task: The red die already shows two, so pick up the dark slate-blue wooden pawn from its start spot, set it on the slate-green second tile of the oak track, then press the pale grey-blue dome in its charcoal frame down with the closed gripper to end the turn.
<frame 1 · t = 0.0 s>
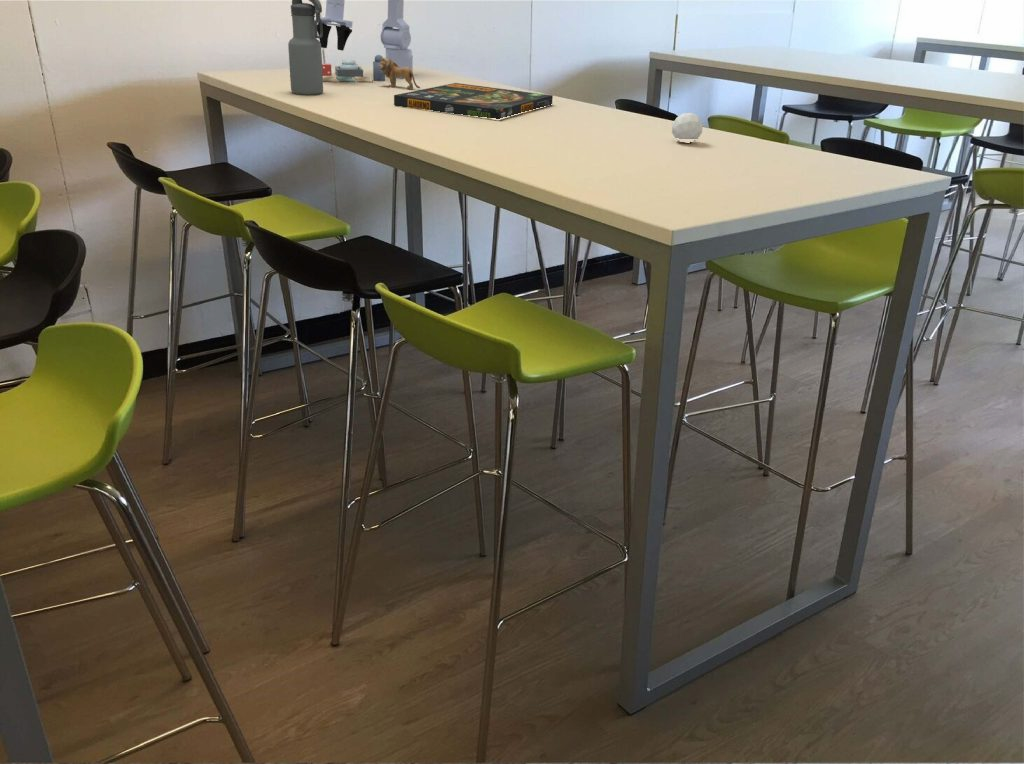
hand: (332, 49, 291), 11 cm above the table, tool pointing down, fingers open, 7 cm apart
track: (345, 79, 302), on the table
red die: (326, 74, 311), on the table
board game box: (475, 108, 268), on the table
dome: (348, 66, 311), point 3 cm above the table, slide at 0.0 cm
lion figurine: (398, 88, 292), on the table
water bottle: (308, 93, 274), on the table
geometric ball: (685, 143, 231), on the table
pawn: (379, 80, 305), on the table
dome frame: (349, 75, 313), on the table
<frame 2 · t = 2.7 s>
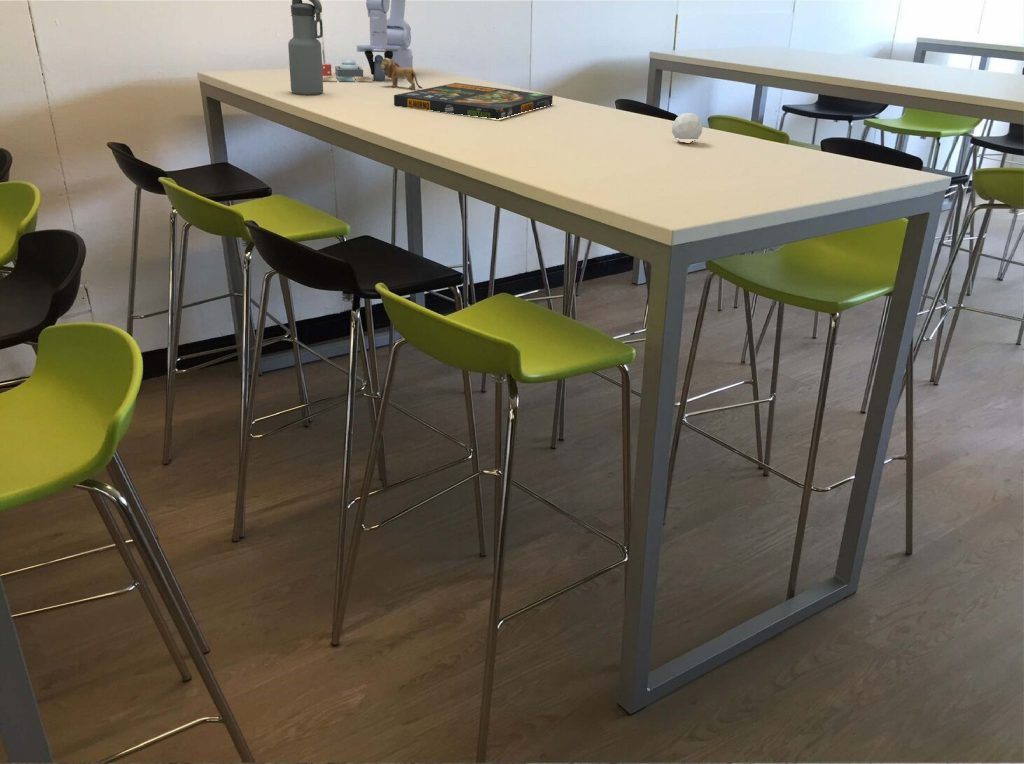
hand: (379, 74, 304), 2 cm above the table, tool pointing down, fingers closed on pawn, 4 cm apart
pawn: (379, 80, 305), on the table, touching gripper
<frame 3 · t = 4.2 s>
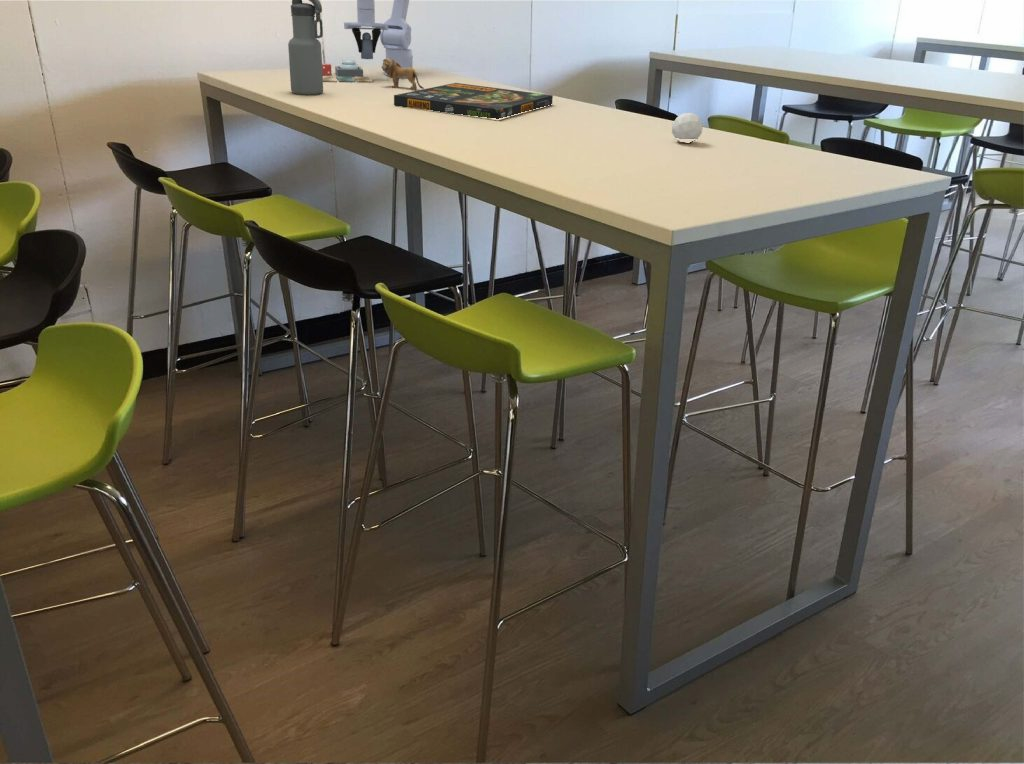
hand: (366, 52, 300), 9 cm above the table, tool pointing down, fingers closed on pawn, 4 cm apart
pawn: (367, 58, 301), point 7 cm above the table, touching gripper
when the fingers open (3 cm above the table, at t = 6.1 s): pawn stays where it is, resting on track.
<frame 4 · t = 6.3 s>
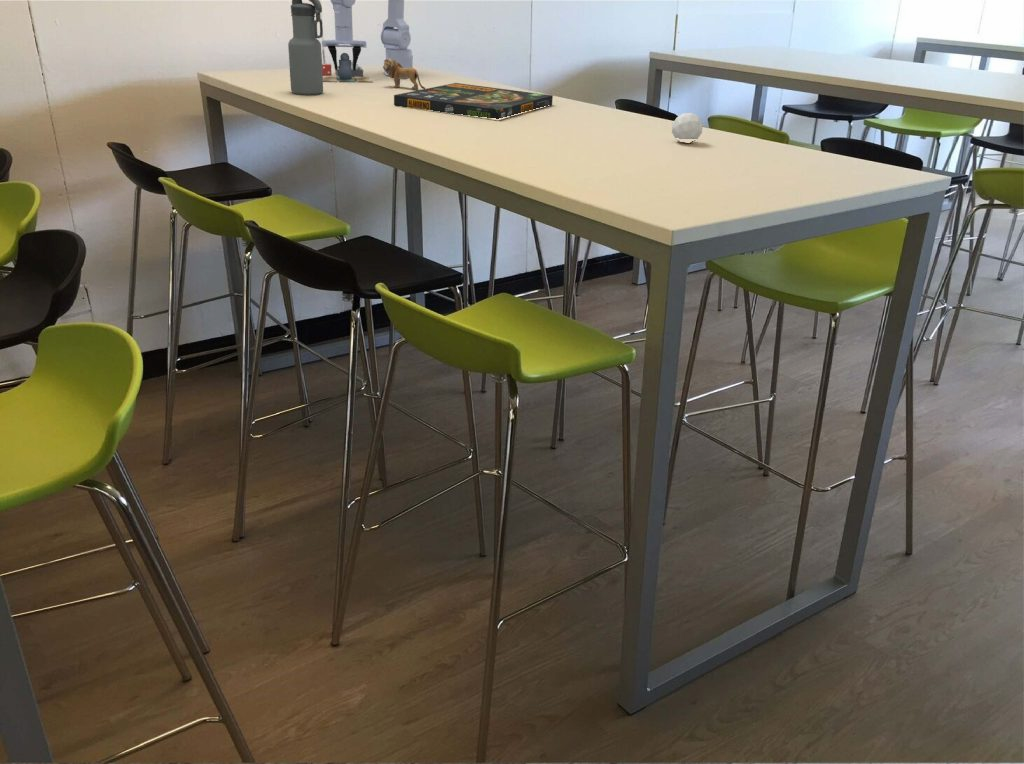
hand: (345, 69, 300), 3 cm above the table, tool pointing down, fingers open, 5 cm apart
pawn: (345, 78, 302), resting on track
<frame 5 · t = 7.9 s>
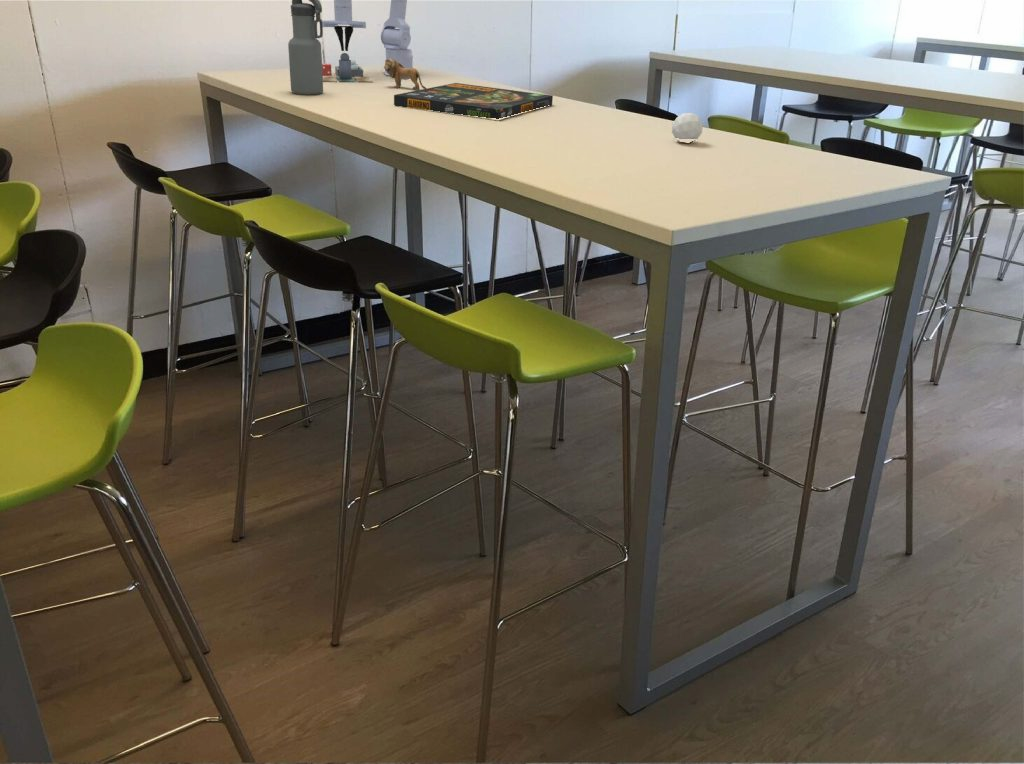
hand: (344, 50, 298), 9 cm above the table, tool pointing down, fingers closed
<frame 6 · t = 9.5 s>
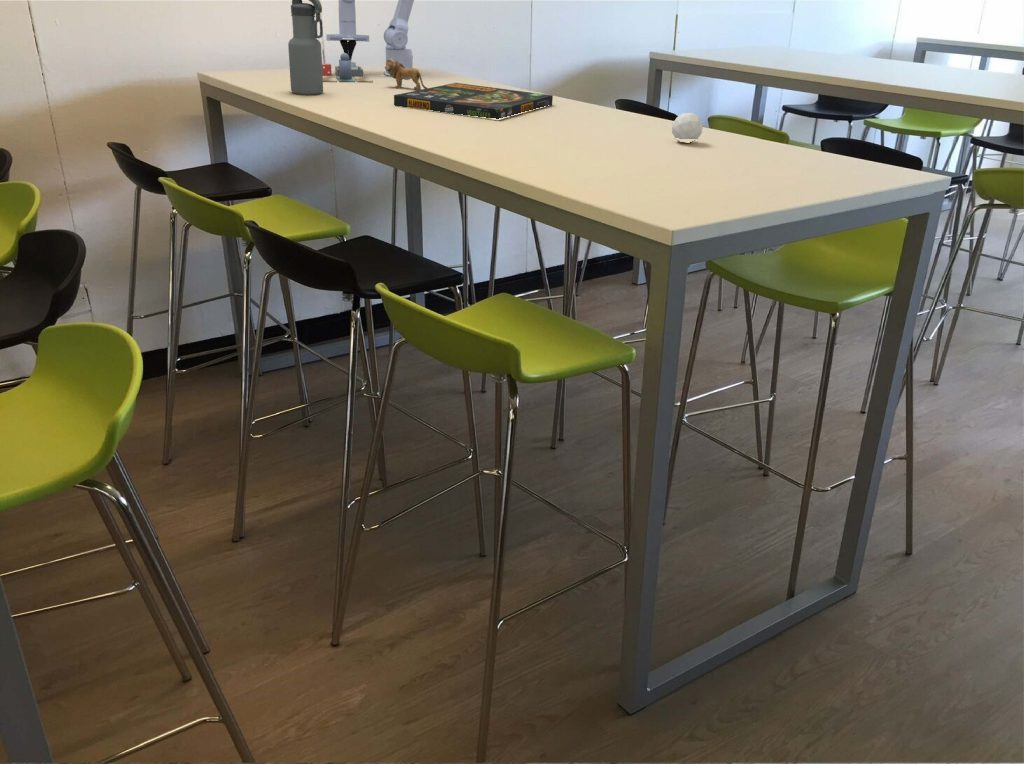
hand: (348, 63, 311), 4 cm above the table, tool pointing down, fingers closed, pressing on dome
dome: (348, 68, 312), point 2 cm above the table, slide at 0.7 cm, touching gripper
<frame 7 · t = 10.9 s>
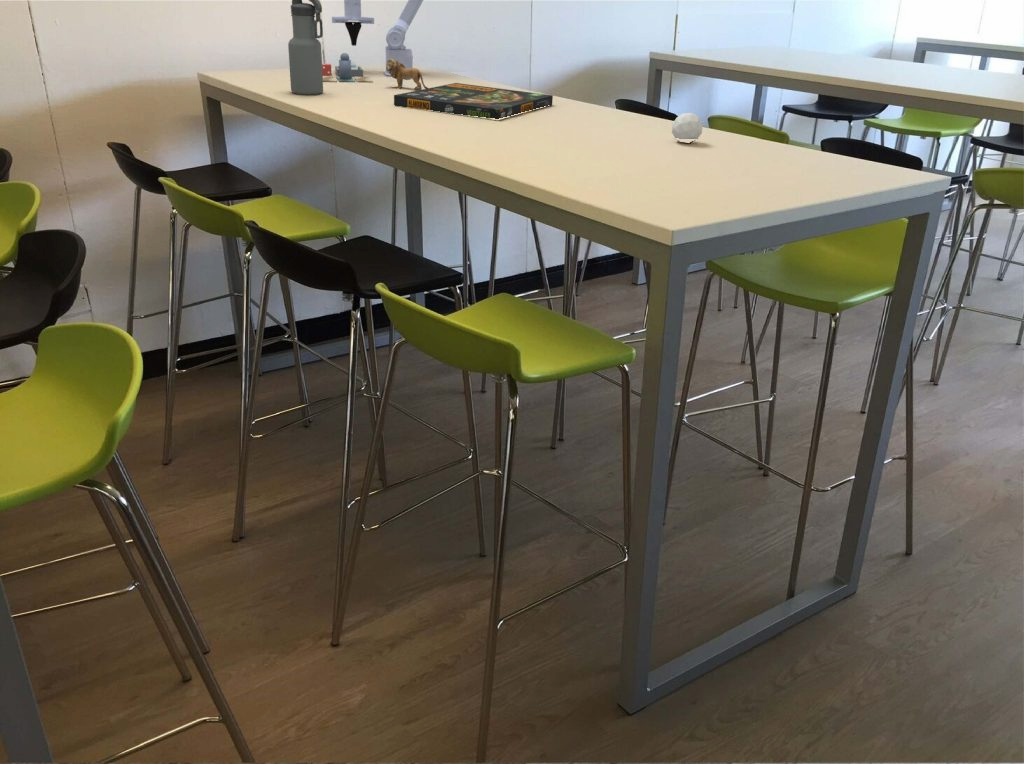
hand: (353, 45, 314), 9 cm above the table, tool pointing down, fingers closed
dome: (349, 68, 312), point 2 cm above the table, slide at 0.8 cm
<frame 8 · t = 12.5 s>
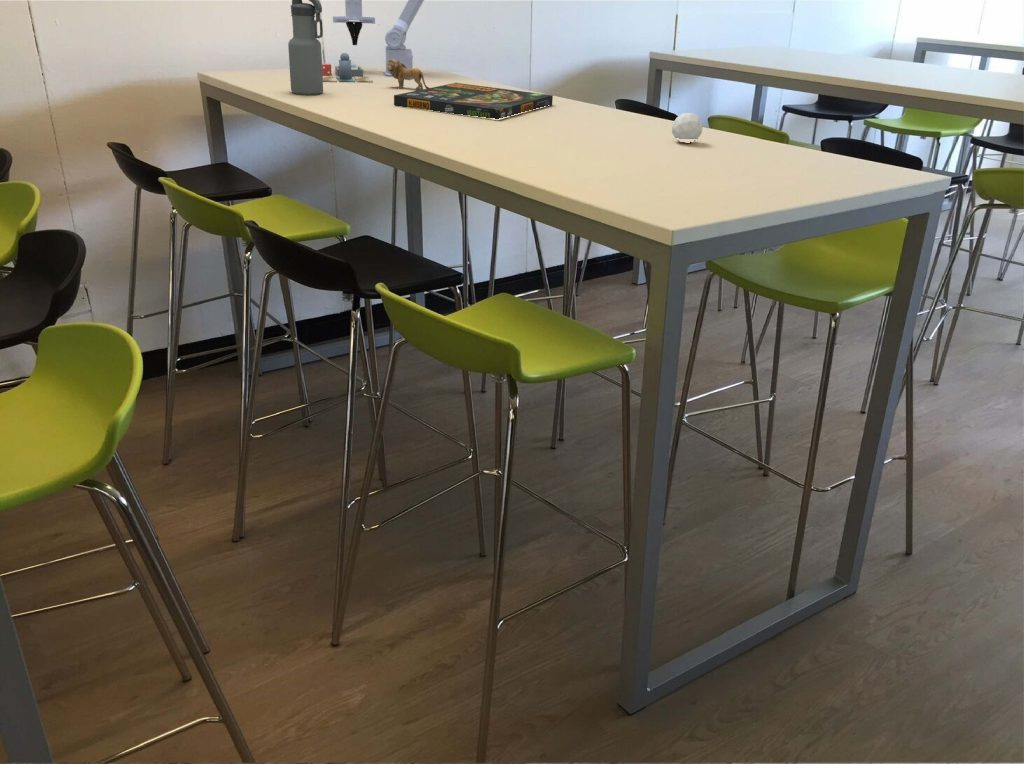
hand: (354, 44, 315), 9 cm above the table, tool pointing down, fingers closed
at the end: pawn 0.1 cm from the target spot, resting on track; pawn tilted 0°; dome slide at 0.8 cm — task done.
